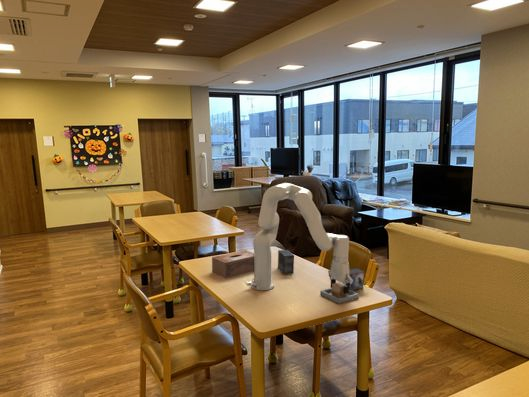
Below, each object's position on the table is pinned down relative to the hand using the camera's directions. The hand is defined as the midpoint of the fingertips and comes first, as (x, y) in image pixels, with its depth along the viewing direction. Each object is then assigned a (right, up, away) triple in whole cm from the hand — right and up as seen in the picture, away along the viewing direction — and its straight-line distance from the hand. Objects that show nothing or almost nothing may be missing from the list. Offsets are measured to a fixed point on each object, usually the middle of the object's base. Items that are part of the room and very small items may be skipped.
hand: (339, 290), depth 202 cm
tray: (0, -3, +1) cm, 4 cm away
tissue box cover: (-58, +2, +39) cm, 70 cm away
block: (0, -3, 0) cm, 3 cm away
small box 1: (-26, +2, +40) cm, 48 cm away
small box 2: (+10, -2, +11) cm, 15 cm away
